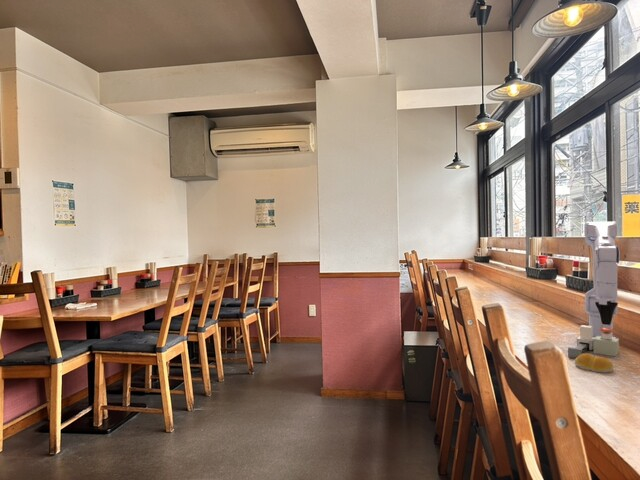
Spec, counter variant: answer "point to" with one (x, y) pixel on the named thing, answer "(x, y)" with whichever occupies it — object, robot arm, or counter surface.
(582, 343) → the rail
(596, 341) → the box
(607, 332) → the red push knob
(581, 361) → the bread roll
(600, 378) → the counter surface
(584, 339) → the carriage
